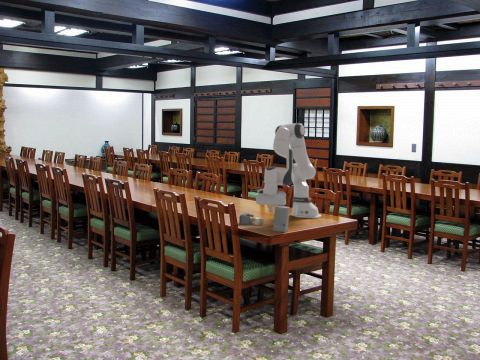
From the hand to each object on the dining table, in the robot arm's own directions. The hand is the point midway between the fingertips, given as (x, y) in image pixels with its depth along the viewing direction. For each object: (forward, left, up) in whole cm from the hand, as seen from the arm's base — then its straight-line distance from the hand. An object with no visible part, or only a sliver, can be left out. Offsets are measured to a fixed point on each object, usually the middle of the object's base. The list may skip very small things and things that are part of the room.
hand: (270, 211), depth 340 cm
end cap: (+17, +1, -10) cm, 20 cm away
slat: (+12, +1, -10) cm, 16 cm away
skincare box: (-11, +15, -10) cm, 21 cm away
